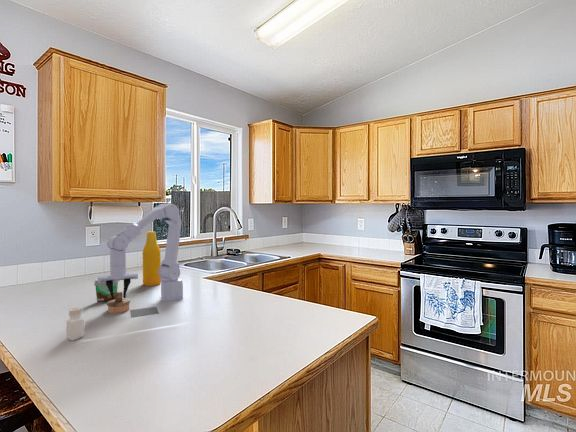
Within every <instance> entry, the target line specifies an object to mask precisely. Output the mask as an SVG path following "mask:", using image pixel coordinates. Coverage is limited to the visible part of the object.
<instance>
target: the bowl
mask: <svg viewBox="0 0 576 432" xmlns="http://www.w3.org/2000/svg"><path fill="white" fill-rule="evenodd" d="M107 308H108V309H107V311H108V313H110V314H111V313H112V314H115V313H123V312H126V311H130V303H129V304H127V305H123V306H117V307H110V306H107Z"/></svg>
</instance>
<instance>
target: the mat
mask: <svg viewBox="0 0 576 432" xmlns="http://www.w3.org/2000/svg"><path fill="white" fill-rule="evenodd" d="M129 313H130V318H138V317H146V316H150V315H157V314H158V315H159V314H160V312H159V310H158V307H157V306H150V307H143V308H135V309H129Z"/></svg>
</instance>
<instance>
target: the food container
mask: <svg viewBox="0 0 576 432" xmlns="http://www.w3.org/2000/svg"><path fill="white" fill-rule="evenodd" d="M119 283H120V280H118V281H113V294H114V299H112V297H111V293H110V291H109V289H108V287H107V285H106V282H101V283H98V280H94V284H93V285H94V287H95V295H96V302H97V303H107V302H108V301H111V300H115V293H116V292H118V288H119V287H118V285H119Z"/></svg>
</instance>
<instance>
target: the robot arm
mask: <svg viewBox="0 0 576 432" xmlns="http://www.w3.org/2000/svg"><path fill="white" fill-rule="evenodd" d="M157 219H159V220H160V219H162V220H163V221H165V222H166V224H168V229H167V238H166V246H165V254H164V259H163V260H161V266H160V268H159V269H158V274H159V276H160V277H161V283H160V296H159V300H160V301H161V302H168V301H174V300H182V299H184V289H183V287H184V284H183V279H182V278H180V275H181V270H180V263H179V261H178V252H179V247H180V245H179V244H180V238H181V231H182V230H181V229H182V223H183V222H182V219H181V214H180V208H178V207H177V205H176V204H174V203H167V204H166V203H165V204H164V203H160V204H158V205H157V206H155V207H153V208H152V209H151V210H150V211H149V212H148V213H147V214H146V215H144V216H143V217H141V219H140V220H138V221H137V222H136V223H130V224H126V225H125V228H124V229H123V230H121V231H118V232H117V233H116V235H112V236H111V237H110V238H109V239H108V242H107V243H106V244H107V247H108V248H109V263H110V264H109V266H110V267H109V270H110V271H109V272H110V273H109V275H104V276H98V277H97V281H98V283H101V282H106V285H107V287H108V289H109V291H110V293H111V297H112V299H114V294H113V281H118V280H119V281H123V292H122V298H123V299H127V298H126V296H127V291H128V288H129V286H130V284H131V280H139V275H138V274H139V273H127V266H126V265H127V263H126V262H127V261H126V260H127V259H126V258H127V257H126V256H127V255H126V254H127V253H126V249H127V248H128V247H129V244H130V243H131V242H133V241H134V240H135V239H136V238H137V237H139V236H140V235H141V234H142V230H143V229H144V228H146V227H147V226H149V225H150V224H151V223H153V222H155V220H157Z"/></svg>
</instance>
